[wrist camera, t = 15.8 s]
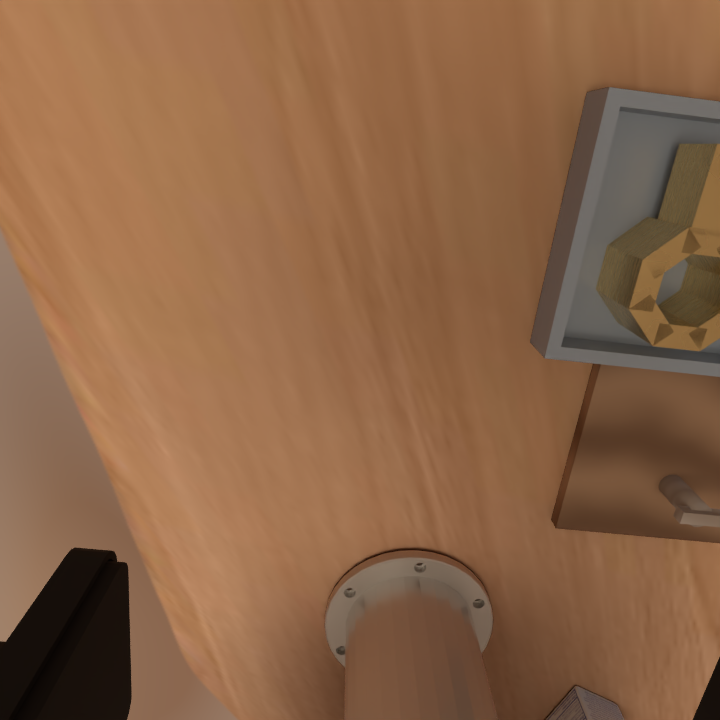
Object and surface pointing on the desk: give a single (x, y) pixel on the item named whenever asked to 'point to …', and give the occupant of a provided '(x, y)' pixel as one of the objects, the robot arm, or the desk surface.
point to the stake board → (645, 456)
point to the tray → (617, 225)
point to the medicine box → (585, 707)
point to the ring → (672, 259)
